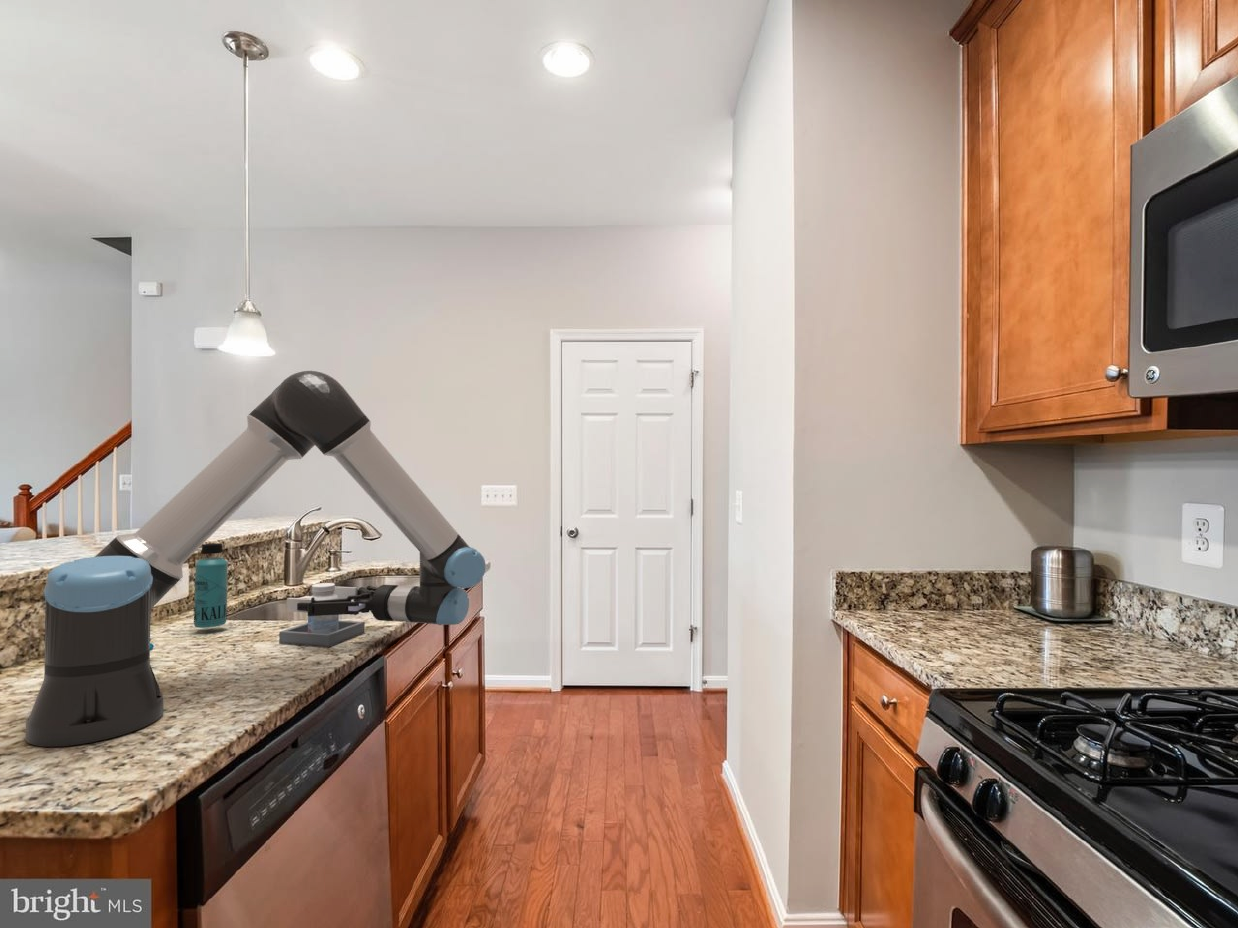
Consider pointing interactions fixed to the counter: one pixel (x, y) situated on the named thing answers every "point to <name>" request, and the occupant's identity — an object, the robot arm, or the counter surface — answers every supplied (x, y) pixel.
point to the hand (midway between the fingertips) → (310, 598)
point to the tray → (321, 635)
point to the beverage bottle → (210, 589)
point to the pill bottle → (323, 622)
